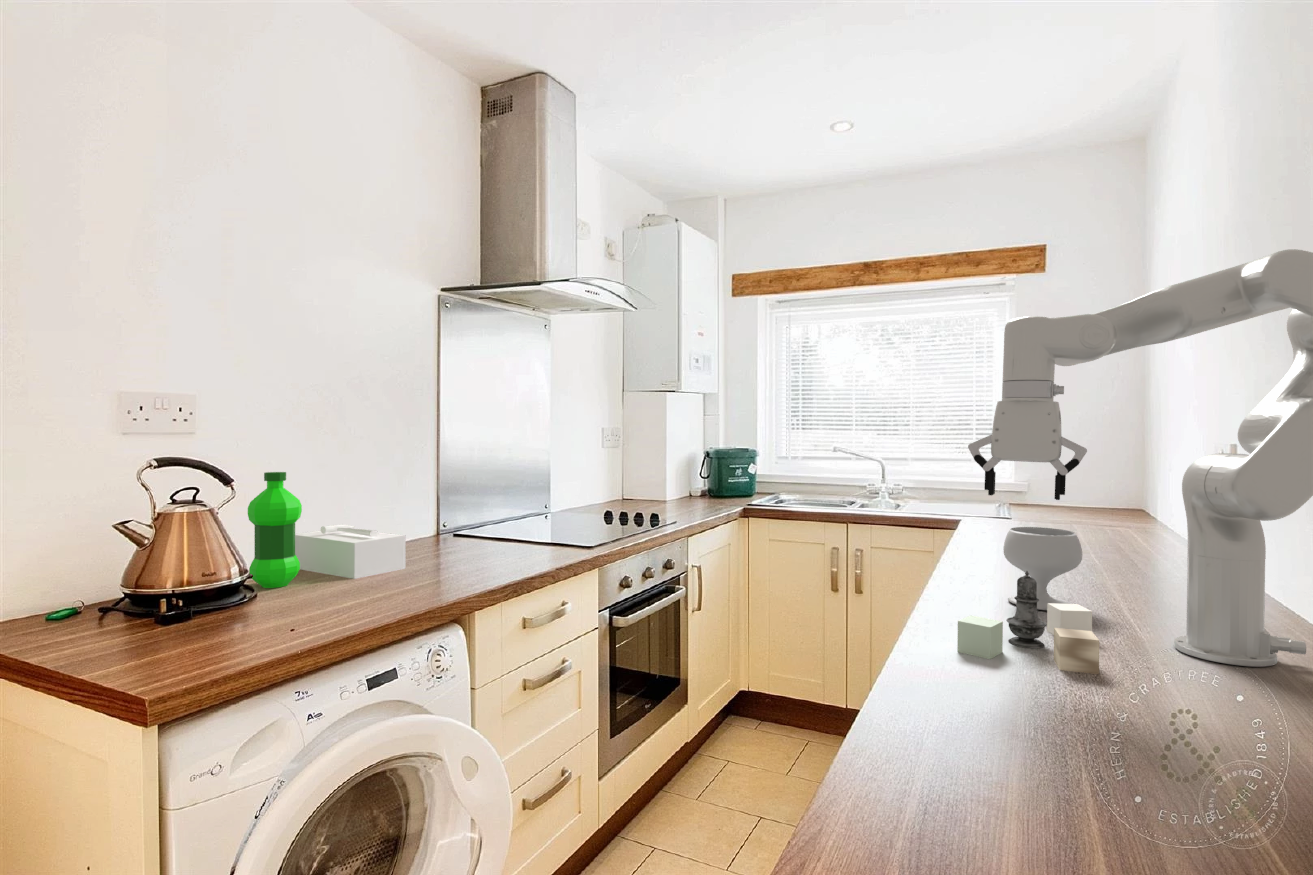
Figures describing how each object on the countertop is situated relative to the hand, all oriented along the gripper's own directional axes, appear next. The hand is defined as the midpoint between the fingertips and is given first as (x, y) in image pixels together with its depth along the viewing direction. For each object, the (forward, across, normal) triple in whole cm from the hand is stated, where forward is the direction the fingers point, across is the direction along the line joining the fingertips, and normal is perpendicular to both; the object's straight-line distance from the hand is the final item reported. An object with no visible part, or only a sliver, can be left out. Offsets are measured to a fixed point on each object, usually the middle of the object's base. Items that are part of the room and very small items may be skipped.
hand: (1023, 497), depth 115 cm
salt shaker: (+24, -1, 0) cm, 24 cm away
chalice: (+24, -2, -31) cm, 40 cm away
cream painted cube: (+24, -7, -9) cm, 27 cm away
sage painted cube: (+24, +5, +9) cm, 26 cm away
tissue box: (+28, +148, +20) cm, 152 cm away
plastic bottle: (+28, +144, +41) cm, 152 cm away
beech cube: (+24, -8, +9) cm, 27 cm away
